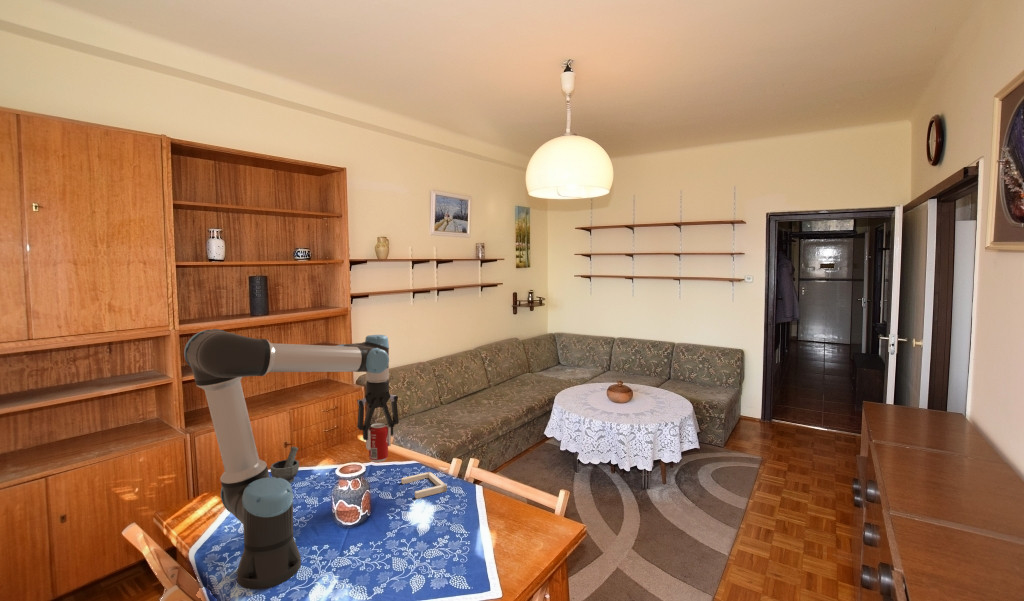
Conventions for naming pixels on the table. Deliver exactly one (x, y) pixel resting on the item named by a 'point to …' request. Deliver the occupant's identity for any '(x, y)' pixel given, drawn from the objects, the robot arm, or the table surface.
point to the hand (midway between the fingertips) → (378, 446)
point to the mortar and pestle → (286, 467)
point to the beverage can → (378, 442)
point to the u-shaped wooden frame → (429, 491)
